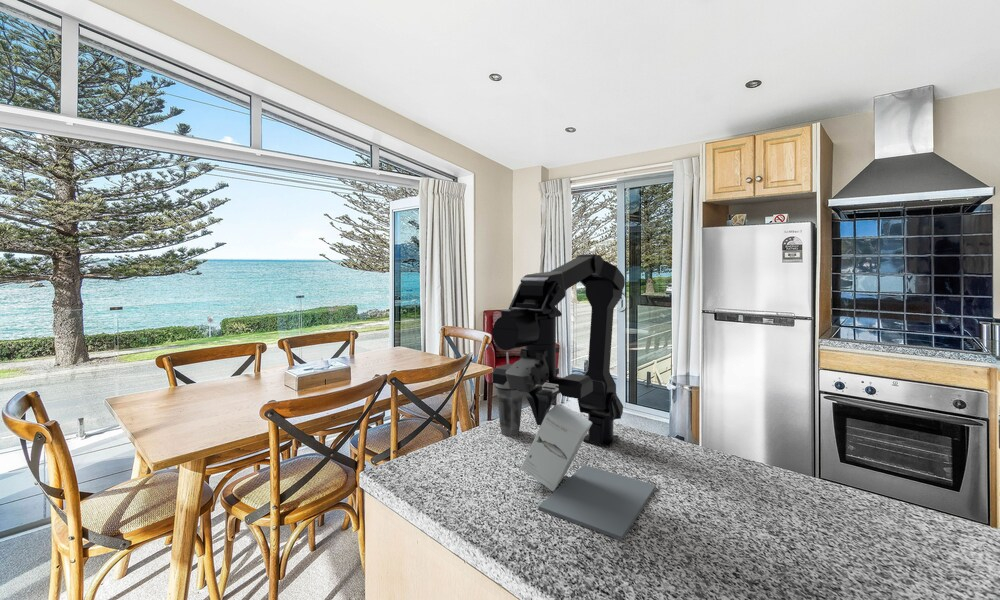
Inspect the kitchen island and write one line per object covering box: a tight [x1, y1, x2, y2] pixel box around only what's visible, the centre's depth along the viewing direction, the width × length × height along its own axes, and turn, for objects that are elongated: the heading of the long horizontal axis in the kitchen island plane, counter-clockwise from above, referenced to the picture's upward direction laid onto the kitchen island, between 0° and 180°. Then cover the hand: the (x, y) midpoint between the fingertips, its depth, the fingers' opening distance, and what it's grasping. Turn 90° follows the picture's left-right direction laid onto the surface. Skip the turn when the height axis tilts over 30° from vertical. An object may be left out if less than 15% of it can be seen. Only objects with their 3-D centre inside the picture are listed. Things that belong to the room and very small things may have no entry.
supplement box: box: [520, 402, 592, 493], centre depth 77 cm, size 7×7×13 cm
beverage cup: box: [494, 351, 524, 437], centre depth 102 cm, size 7×7×20 cm
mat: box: [537, 464, 657, 541], centre depth 72 cm, size 18×14×1 cm
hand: (540, 424), depth 78 cm, fingers closed
